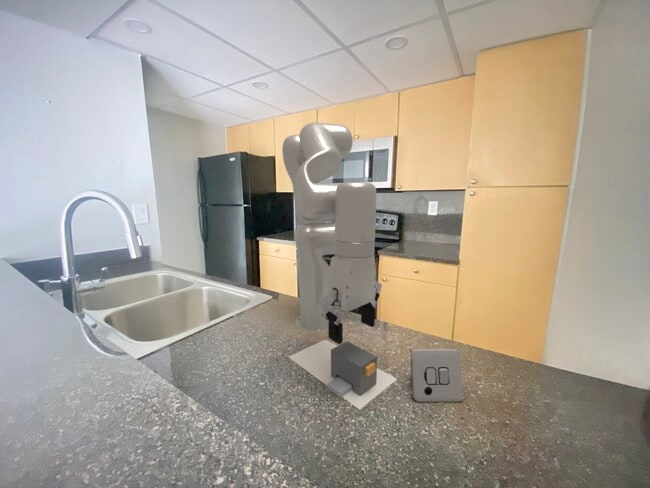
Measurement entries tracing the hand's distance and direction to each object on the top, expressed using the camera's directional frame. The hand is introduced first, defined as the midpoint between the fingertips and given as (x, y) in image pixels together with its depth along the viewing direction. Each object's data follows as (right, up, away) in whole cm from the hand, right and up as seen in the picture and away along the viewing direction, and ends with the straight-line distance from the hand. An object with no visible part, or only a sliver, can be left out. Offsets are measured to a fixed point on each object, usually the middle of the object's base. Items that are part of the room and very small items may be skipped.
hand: (352, 332), depth 53 cm
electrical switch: (+16, -12, -1) cm, 20 cm away
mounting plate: (-2, -11, +6) cm, 12 cm away
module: (0, -10, +1) cm, 10 cm away
